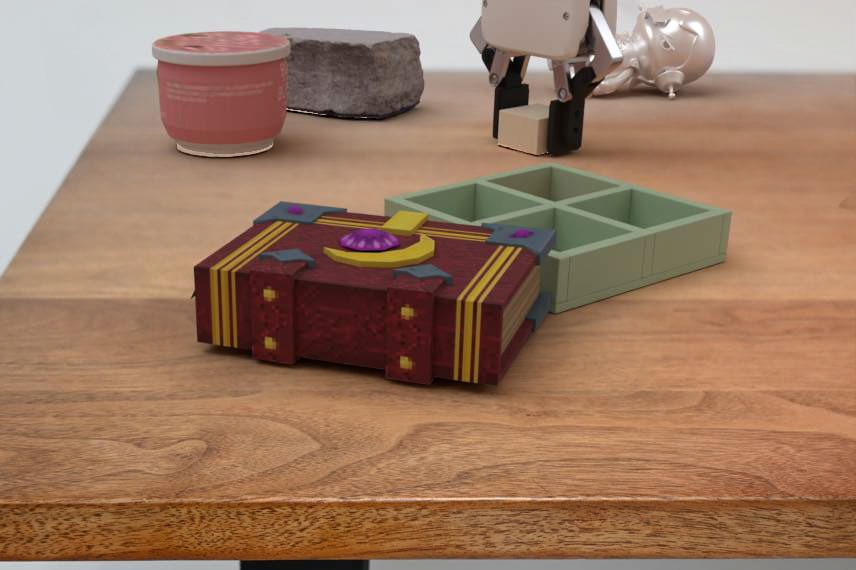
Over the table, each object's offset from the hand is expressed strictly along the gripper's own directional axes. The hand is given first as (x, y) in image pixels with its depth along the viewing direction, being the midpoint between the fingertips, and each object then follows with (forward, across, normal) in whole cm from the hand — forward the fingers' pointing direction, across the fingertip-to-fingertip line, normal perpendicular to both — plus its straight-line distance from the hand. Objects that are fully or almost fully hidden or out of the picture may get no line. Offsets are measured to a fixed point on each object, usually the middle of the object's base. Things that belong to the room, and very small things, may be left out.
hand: (536, 141), depth 97 cm
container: (+1, +15, +19) cm, 24 cm away
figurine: (+1, +10, -22) cm, 24 cm away
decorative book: (+1, -22, +34) cm, 41 cm away
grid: (0, -19, +18) cm, 26 cm away
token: (0, 0, 0) cm, 0 cm away
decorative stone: (+1, +20, +4) cm, 20 cm away
